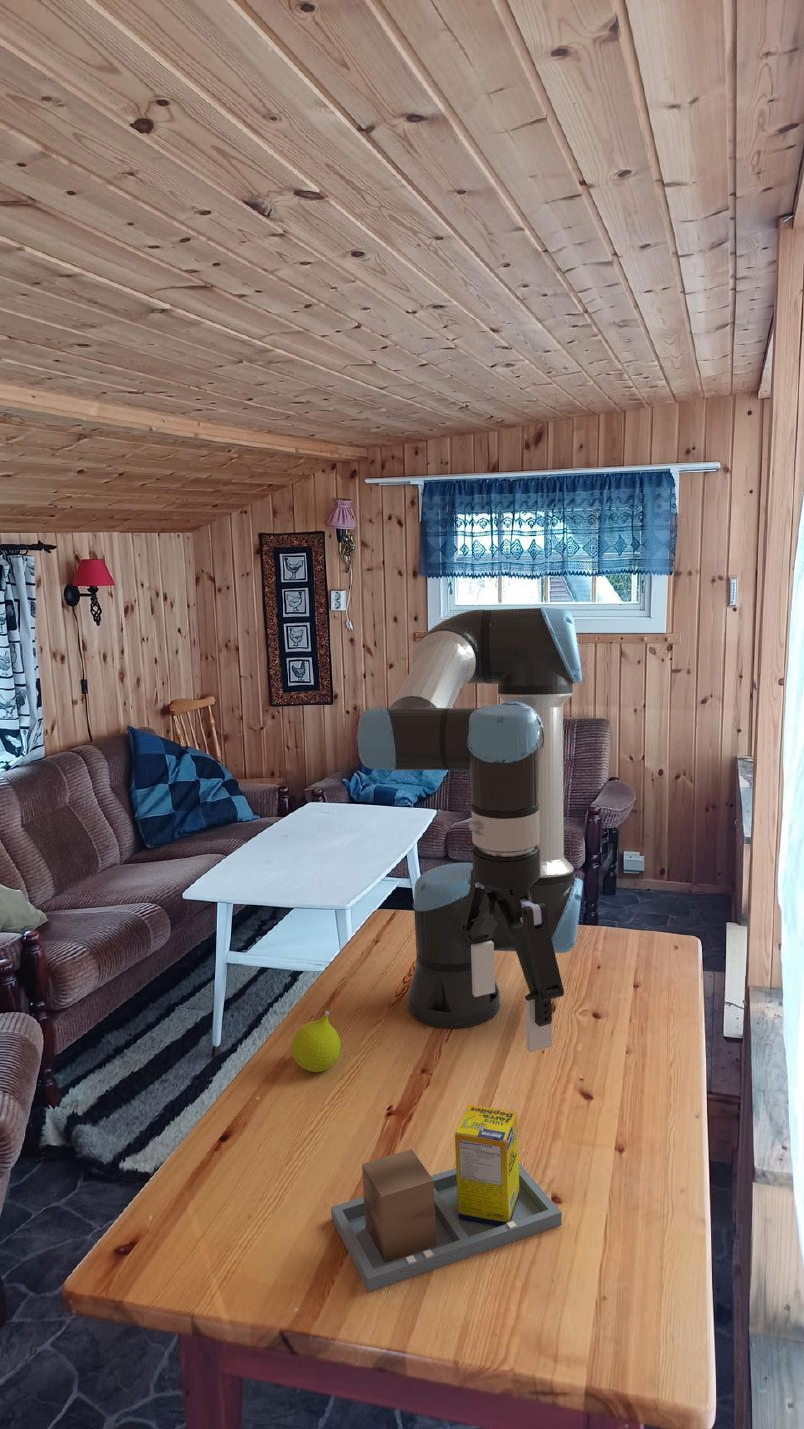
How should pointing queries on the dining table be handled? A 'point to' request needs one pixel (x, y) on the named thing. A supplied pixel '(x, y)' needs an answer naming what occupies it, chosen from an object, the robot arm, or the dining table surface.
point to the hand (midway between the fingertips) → (510, 1019)
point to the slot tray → (443, 1231)
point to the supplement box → (487, 1165)
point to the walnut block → (399, 1205)
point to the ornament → (316, 1045)
